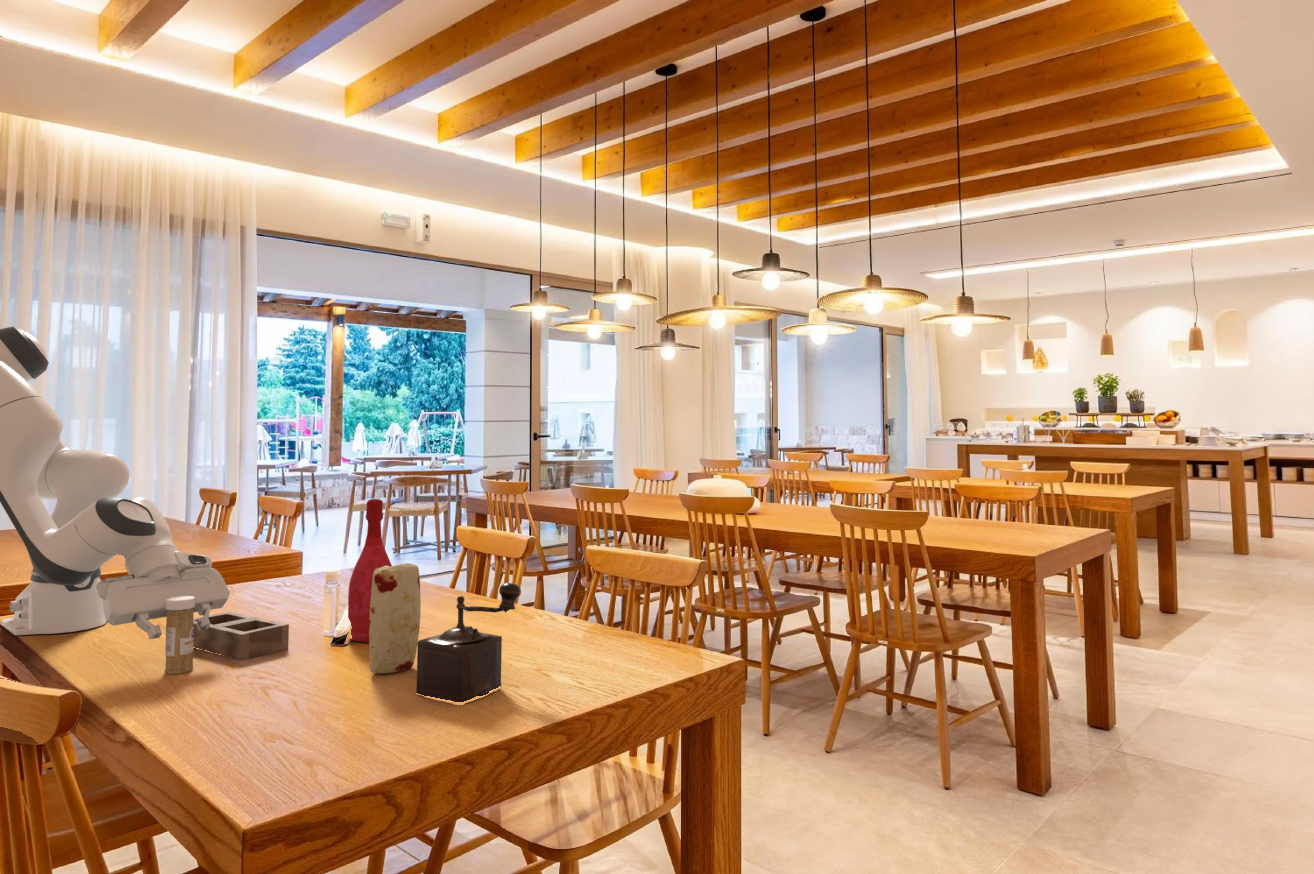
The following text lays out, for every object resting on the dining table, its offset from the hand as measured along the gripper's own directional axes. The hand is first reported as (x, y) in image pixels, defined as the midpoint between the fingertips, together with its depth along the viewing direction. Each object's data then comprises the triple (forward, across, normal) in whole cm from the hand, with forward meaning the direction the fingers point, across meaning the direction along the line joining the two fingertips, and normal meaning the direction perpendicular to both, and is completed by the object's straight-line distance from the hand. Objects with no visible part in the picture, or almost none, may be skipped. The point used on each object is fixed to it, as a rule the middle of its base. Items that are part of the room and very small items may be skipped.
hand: (181, 632), depth 141 cm
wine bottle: (+10, +36, +1) cm, 37 cm away
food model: (+26, +24, -15) cm, 39 cm away
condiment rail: (-1, +14, +12) cm, 18 cm away
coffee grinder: (+39, +26, -29) cm, 55 cm away
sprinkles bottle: (+5, 0, +6) cm, 7 cm away
